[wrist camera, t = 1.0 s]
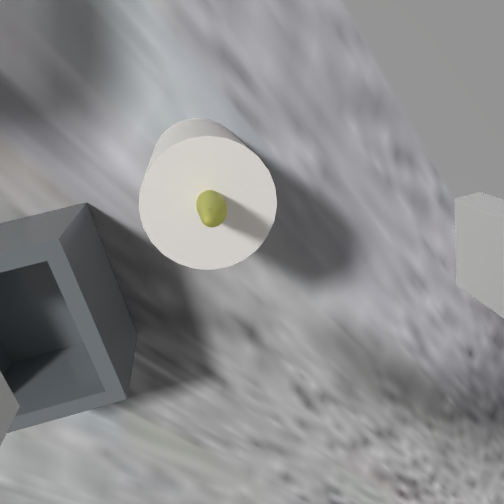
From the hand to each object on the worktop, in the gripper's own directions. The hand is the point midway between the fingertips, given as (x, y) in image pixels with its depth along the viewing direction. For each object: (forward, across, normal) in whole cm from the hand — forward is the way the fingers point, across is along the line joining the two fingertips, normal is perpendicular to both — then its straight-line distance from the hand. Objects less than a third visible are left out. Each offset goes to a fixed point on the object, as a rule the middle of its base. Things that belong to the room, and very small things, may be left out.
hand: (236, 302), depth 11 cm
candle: (+19, 0, 0) cm, 19 cm away
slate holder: (+19, -13, -6) cm, 24 cm away
